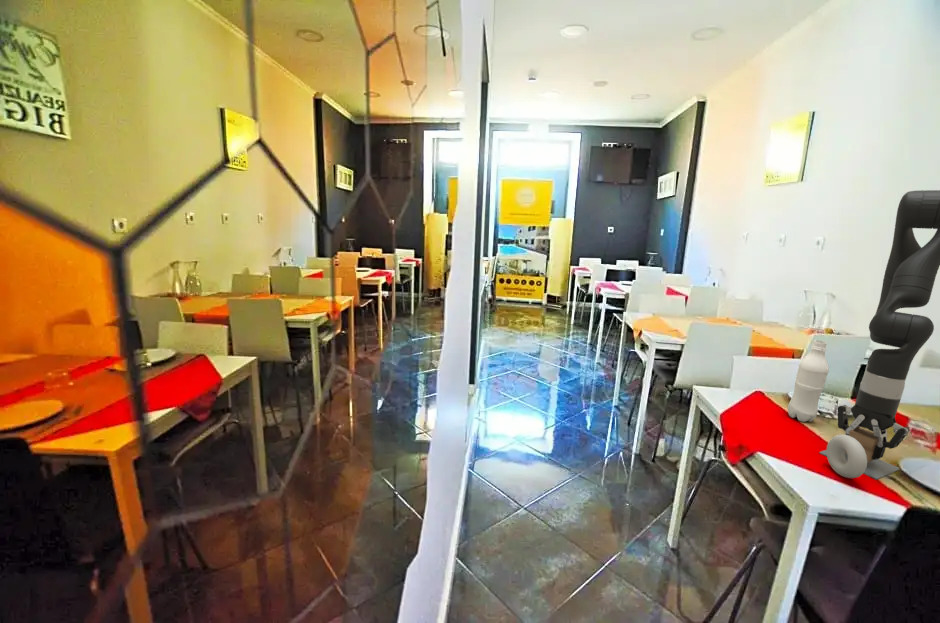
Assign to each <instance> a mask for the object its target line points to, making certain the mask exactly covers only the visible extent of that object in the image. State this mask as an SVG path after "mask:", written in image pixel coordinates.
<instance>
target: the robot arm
mask: <svg viewBox="0 0 940 623" xmlns="http://www.w3.org/2000/svg"><path fill="white" fill-rule="evenodd" d="M894 224H895V225H894V230H893V231H894V233H893V239H892V246H891V249H890V250H891V251H890V253H889V257H888V260H887V263H886V267H885V272H884V275H883V279H882V286H881V293H880V296H879V302H878V305H877V309H876V311H875V314H874V316H873V317H872V318H871V320H870V321H869V324H868V330H869V337H870V339H871V341H872V342H873V343H875V344H879V345H883V346H884V345H885V346H889V347H894V348H876V349H874V350H873V351H872V352H871V353H870V355H869V357H868V359H867V363H866V365H865V366H866V367H865V371H864V374H863V377H862V378H861V379H862V380H861V381H860V382H859V383H860V384H859V389H858V391H857V392H858V393H857V395H856V399H855V403H854V405H853V406H848V405H846V404H842V405H839V406H837V428H839V429H841V430H843V431H844V432H845V434H844V435H849V432H850V431H851V430H855V429H859V428H862V429H866V430H868V431H870V432H873V433H874V437H875V438H876V439H877V442H876V443H877V445H876V446H875V449H874V452H873V455H872V459H874V460H877V459H880V460H881V459H882V458H884V455H885V451H886V448H887V449H890V450H893V449H895V448H897V447H898V446H900V444H901V443H902V441H903V440H904V439H905V438H906V436H908V434H909V433H910V431H911V428H909V427H907V426H903V425H901V424H899V423H897V421H896V415H897V412H898V409H899V406H900V402H901V399H902V396H903V394H904V390H905V387H906V380H907V377H908V373H909V371H910V367H911V365H912V362H913V360H914V359H915V357H916V355H917V354H918V352H919V351H920V350H921V348H922V347H924V345H925V344H926V343H927V341H928V340H929V339H930V337H931V336H932V335H933V333H934V330H935V325H934V322H933V321H932V319H931V318H930V317H928V316H926V315H925V316H924V315H920V314H919V315H918V314H914V313H913V314H911V313H906V312H901V311H900V312H898V311H897V310H900V309H907V308H908V309H912V308H914V309H915V308H922V307H925V306H927V305H928V303H929V302H930V299H931V295H932V292H933V288H934V285H935V281H936V277H937V274H938V271H939V269H940V189H939V190H938V189H936V190H933V189H930V190H928V189H927V190H926V189H925V190H923V189H921V190H910V191H907V192H905V193H904V194H903V195H902V197H901V199H900V201H899V203H898V206H897V212H896V217H895V223H894ZM914 229H927V230H928V229H929V230H931V229H933V230H936V232H935V233H934V234H933V236H932V238H931V239H930V240H928V242H926V244H924V245H923V246H922V247H921V245H920V244H919V243H918V241H917V239H916V237H915V233H914ZM851 413H852V416H853V419H854V421H852V422H851V423H850V425H849V415H850V414H851ZM890 428H893V429H892V430H893V433H894V435H893V436H892V438H891V439H890V440H889V441H888V430H887V429H890Z"/></svg>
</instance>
